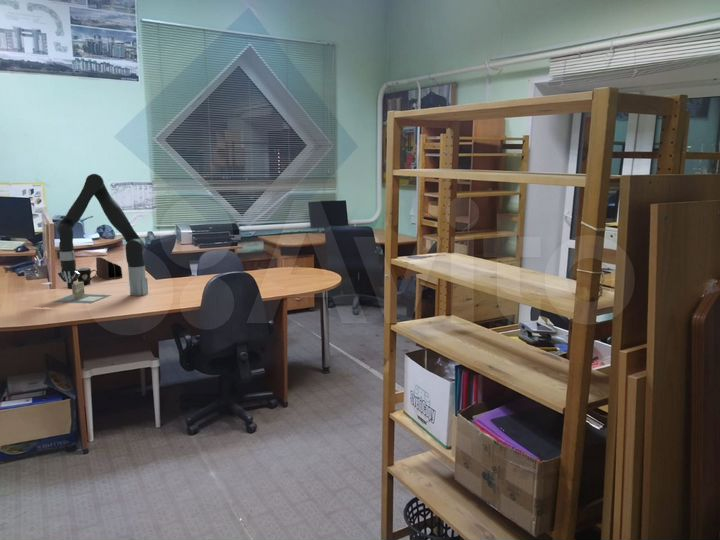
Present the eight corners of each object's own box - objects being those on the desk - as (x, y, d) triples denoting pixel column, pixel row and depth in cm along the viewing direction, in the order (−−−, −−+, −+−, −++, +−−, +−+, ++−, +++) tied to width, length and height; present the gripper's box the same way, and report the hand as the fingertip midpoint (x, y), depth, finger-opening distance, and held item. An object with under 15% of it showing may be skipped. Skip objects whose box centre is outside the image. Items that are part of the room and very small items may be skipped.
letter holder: (107, 280, 362) (106, 259, 360) (96, 276, 376) (94, 256, 373) (122, 278, 369) (121, 257, 367) (111, 274, 383) (109, 254, 380)
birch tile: (84, 296, 310) (83, 281, 308) (77, 299, 303) (75, 284, 301) (80, 296, 310) (79, 281, 309) (72, 299, 303) (71, 284, 302)
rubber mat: (112, 296, 315) (112, 295, 315) (91, 305, 295) (91, 303, 295) (74, 295, 318) (74, 293, 318) (51, 303, 298) (50, 301, 298)
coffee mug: (75, 286, 343) (73, 270, 341) (79, 283, 352) (78, 268, 350) (94, 285, 346) (93, 270, 344) (98, 282, 354) (97, 267, 352)
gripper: (82, 258, 306) (85, 287, 309) (61, 257, 308) (64, 287, 311) (74, 260, 299) (77, 290, 302) (52, 259, 300) (55, 290, 304)
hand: (70, 288), depth 306 cm, fingers closed
